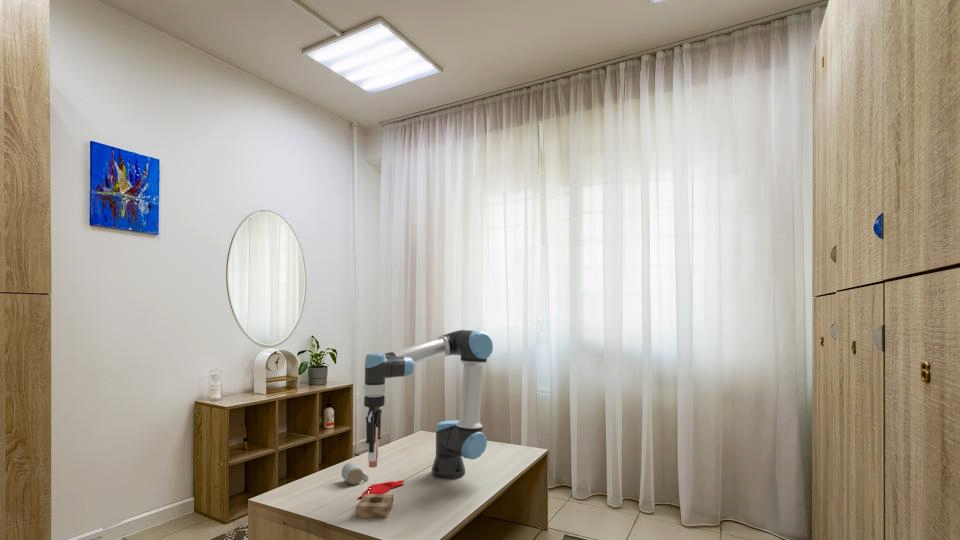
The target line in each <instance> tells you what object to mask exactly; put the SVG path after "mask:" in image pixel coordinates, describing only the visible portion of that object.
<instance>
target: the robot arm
mask: <svg viewBox="0 0 960 540" xmlns="http://www.w3.org/2000/svg"><path fill="white" fill-rule="evenodd" d="M493 343H494V342H493V340H492V338H491V337H490V335H489V334H488V333H487V332H484V331H481V330H467V329H466V330H465V329H460V330H455V331H451V332H449V333H446V334H442V335H439V336H438V337H437V339H433V340H428V341H425V342H422V343H417V344H415V345H411V346H407V347H404V348H401V349H397V350H394V351H391V352H386V353H383V352H382V353H379V352H375V353H368V354H366V355H365V358H364V359H365V360H364V385H363V387H362V388H363V389H364V397H363V398H364V399H363V406H364V407H366V408H368V411H367V416H366V417H365V422H366V425H365V427H366V430H365V431H366V433H365V434H366V436H365V437H366V440H365V444H367V462H369V461H376V443H375V436H376V427H378V443H377V459H378V458H379V446H380V445H379V440H381V439H382V437H381V428H382V427H381V426H382V412H383V410H382V409H381V407H384V406H385V403H386V400H385V394H386V379H390V378H399V377H402V378H403V377H407V376H411V375H413V373H414V369H415V364H417V363H421V362H425V361H427V360H430V359H434V358H437V357H440V356H442V357H448V356H460V363H462V365H463V366H462V367H463V368H462V380H461V382H462V383H461V396H460V398H461V399H460V410H459V411H460V412H459V420H458V419H454V420H453V419H451V420H450V419H449V420H443V421H440V422H438V423H437V424H436V426H435V428H436V429H435V457H434V460H433V464H432V467H431V476H432V477H435V478H436V479H441V480H453V479H460V478H462V477H464V476H465V475H464V474H466V467H465V464H464V460H463V459H468V460H476V459H479V458H480V457H481V456H482V455H483V454H484V453H485V451H486V448H487V445H488V439H487V436H486V435H485V434H484V432H483V424H482V423H481V422H480V414H481V402H482V401H481V399H482V385H483V384H482V383H483V370H484V368H483V367H484V366H485V365H486V364H487V361H488V358H490V356H491V355H492V353H493V349H494V344H493ZM463 475H464V476H463Z"/></svg>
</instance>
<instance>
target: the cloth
mask: <svg viewBox="0 0 960 540" xmlns="http://www.w3.org/2000/svg"><path fill="white" fill-rule="evenodd" d="M404 481H405V480H397V481H386V482H381V483H374V484H373V483H372V484H371V485H370V486H368V487H367V488H368V489H367V488H366V489H365V490H364V491H363V493H362V494H361V495H360V496H358V497H357V499H356V501H359V500H361V499H360V498H362V497H363V496H364V494H368V491H370V492H369V494H384V493H385V494H387V493H388V492H390V490H391V489H394V488H397V487H400V486H404V484H403V483H405V482H404ZM402 482H403V483H402ZM369 488H371V489H369Z"/></svg>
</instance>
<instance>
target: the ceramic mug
mask: <svg viewBox="0 0 960 540" xmlns="http://www.w3.org/2000/svg"><path fill="white" fill-rule="evenodd" d="M341 477H342V478H343V480H344V481H346V482H347V483H348V484H350V485H352V486H355V485H358V484H360V483H361V482H362V481H364V482H368V480H369V478H370V477H369V476H368V475H367V474H365V473H364V471H363V469H362V468H361V467H360V466H359V464H358V463H356V462H354V461H349V462H346V463H345V464H344V465H343V466H342V469H341Z"/></svg>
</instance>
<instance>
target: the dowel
mask: <svg viewBox="0 0 960 540" xmlns="http://www.w3.org/2000/svg"><path fill="white" fill-rule="evenodd" d="M378 440H379V439H378V427H376V436H375V443H376V461H368V467H369V468H371V469H372V468H373V469H374V468H376V467H378V458H377V443H378Z"/></svg>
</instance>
